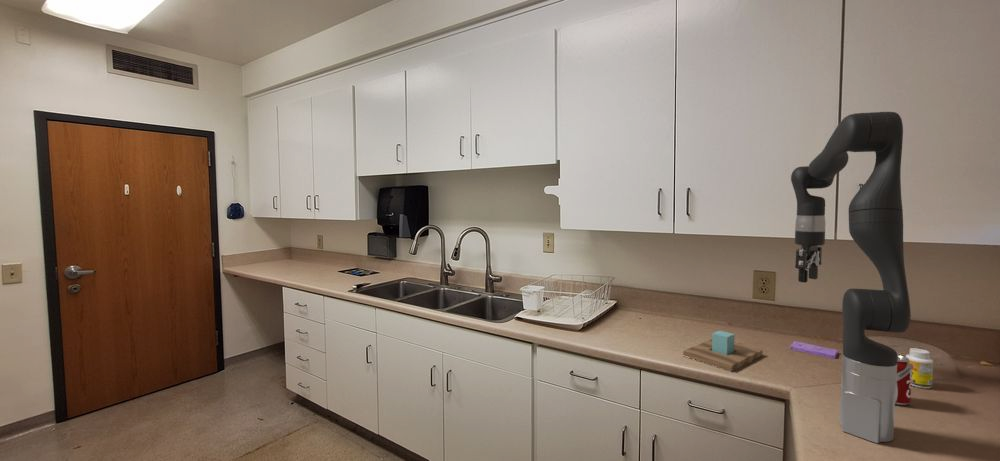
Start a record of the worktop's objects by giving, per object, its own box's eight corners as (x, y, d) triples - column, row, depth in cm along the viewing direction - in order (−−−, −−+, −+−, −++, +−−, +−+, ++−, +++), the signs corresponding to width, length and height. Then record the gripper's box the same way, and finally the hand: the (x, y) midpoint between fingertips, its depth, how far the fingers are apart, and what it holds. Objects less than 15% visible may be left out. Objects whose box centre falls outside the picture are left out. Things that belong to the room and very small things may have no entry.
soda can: (873, 392, 111) (875, 350, 110) (908, 399, 107) (910, 355, 106) (875, 401, 106) (878, 357, 105) (912, 409, 102) (914, 363, 101)
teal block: (726, 360, 135) (727, 337, 134) (711, 355, 139) (712, 333, 138) (733, 356, 138) (734, 334, 137) (719, 352, 142) (719, 330, 141)
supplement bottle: (899, 379, 119) (901, 345, 118) (924, 382, 117) (926, 348, 116) (910, 387, 114) (912, 352, 113) (936, 390, 111) (938, 355, 111)
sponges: (794, 345, 149) (794, 340, 149) (838, 354, 139) (838, 349, 139) (789, 350, 144) (789, 345, 144) (834, 360, 135) (834, 354, 135)
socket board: (731, 371, 126) (731, 365, 126) (683, 356, 139) (683, 350, 139) (762, 355, 138) (762, 350, 138) (715, 342, 151) (715, 337, 151)
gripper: (816, 231, 119) (814, 285, 120) (832, 229, 127) (830, 279, 128) (786, 230, 125) (785, 281, 126) (804, 228, 133) (802, 276, 134)
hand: (808, 280), depth 127 cm, fingers open, 8 cm apart
